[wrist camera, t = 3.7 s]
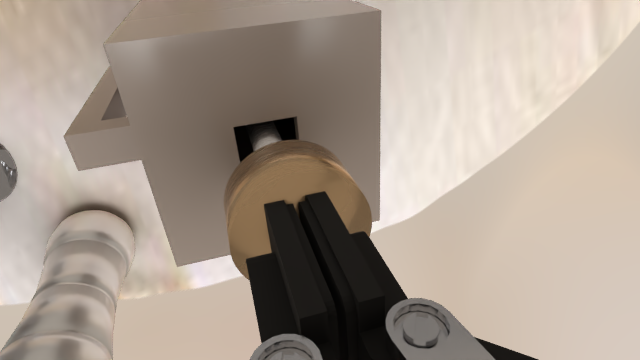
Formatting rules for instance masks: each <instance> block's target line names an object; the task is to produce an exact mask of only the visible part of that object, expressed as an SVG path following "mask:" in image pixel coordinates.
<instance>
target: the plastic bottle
mask: <svg viewBox="0 0 640 360" xmlns="http://www.w3.org/2000/svg"><path fill="white" fill-rule="evenodd" d="M134 256H135V243H134V236H133V233H132V230H131V228H130V227H129V226H128V224H127V223H126V222H125V221H124V220H122V219H121V218H119V217H118V216H116V215H114V214H112V213H109V212H106V211H101V210H88V211H82V212H78V213H75V214H73V215H71V216H69V217H67V218H66V219H65V220H63V221H62V222H61V224H60V225H59V226H58V227H57V228H56V229H55V231H54V232H53V233H52V234H51V236H50V238H49V240H48V243H47V248H46V252H45V256H44V267H43V270H42V274H41V277H40V280H39V284H38V287H37V290H36V293H35V295H34V297H33V299H32V301H31V303H30V305H29V307H28V309H27V310H26V312H25V314H24V316H23V318H22V320H21V322H20V323H19V325H18V326H17V328H16V329H15V331H14V332H13V334H12V335H11V337H10V338H9V340H8V341H7V342H6V344H5V346H4V347H3V348H2V350H1V352H0V360H113V329H114V320H115V312H116V305H117V300H118V297H119V294H120V291H121V288H122V284H123V281H124V279H125V277H126V275H127V274H128V272H129V270H130V267H131V264H132V262H133V259H134Z"/></svg>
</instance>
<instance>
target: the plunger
mask: <svg viewBox="0 0 640 360" xmlns="http://www.w3.org/2000/svg"><path fill="white" fill-rule="evenodd" d="M246 129H247V132H248V135H249V138H250V141H251V144H252V148H253V151H254V152H253V153H251V154H250V155H248V156H247V157H246V158H245V159H244V160H243V161H241V163H240V164H239V165H238V166H237V167H236V168H235V170H234V171H233V173H232V174H231V176H230V178H229V180H228V182H227V185H226V188H225V193H224V211H225V218H226V225H227V233H228V240H229V247H230V253H231V256H232V260H233V262H234V264H235V265H236V267H237V268H238V270H239V271H240V272H241V273H242V274H243V275H244V276H245V277H246V278H247V279H248V280H249V274H248V269H247V264H246V259H247V258H251V257H256V256H260V255H264V254H268V253H272V252H271V246H270V240H269V234H268V228H267V222H266V216H265V210H264V204H266V203H271V202H276V201H281V200H284V201H285V203H286V205H287V204H292V203H293V205H294V207H295V210H296V212H297V214H298V217H299V219H300V214H299V202H301V201H305V195H309V194H313V193H318V192H323V191H325V192H326V193H327V195H328V196H329V198H330V200H331V202H332V203H333V205H334V207H335V209H336V210H337V212H338V214H339V216H340V217H341V219H342V221H343V223H344V224H345V226H346V228H347V230H348V231H349V233H350V234H352V233H356V232H361V231H364V232H366V234H367V235H368V236H370V232H371V227H372V215H371V210H370V206H369V203H368V201H367V199H366V197H365V196H364V194H363V193H362V191H361V190H360V188H359V187H358V186H357V184H356V183H355V181H354V180H353V178H352V177H351V176H350V174H349V173H348V171H347V170H346V168H345V167H344V166H343V164H342V163H341V161H340V160H339V159H338V158H337V157H336V156H335V155H334V154H333V153H332V152H331V151H330V150H328V149H326V148H325V147H323V146H321V145H319V144H316V143H313V142H309V141H304V140H285V141H282V139H281V137H280V135H279V133H278V131H277V129H276V127H275V124H274V122H273V120H272V121H266V122H260V123H254V124H249V125H246Z"/></svg>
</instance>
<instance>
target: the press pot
mask: <svg viewBox="0 0 640 360" xmlns="http://www.w3.org/2000/svg"><path fill="white" fill-rule="evenodd" d="M103 45H104V48H105V51H106V54H107V57H108V60H109V63H110V66H111V67H108V69H107V70H106V72H105V74H104V75H103V77H102V78H101V80H100V81H99V83H98V84H97V86H96V87H95V89H94V90H93V92H92V93H91V95H90V97H89V98H88V100H87V101H86V103H85V104H84V106H83V107H82V109H81V110H80V112H79V113H78V115H77V117H76V118H75V120H74V121H73V123H72V124H71V126H70V127H69V129H68V130H67V132H66V133H65V135H64V139H65V141H66V143H67V146H68V148H69V150H70V153H71V155H72V157H73V160H74V162H75V164H76V167H77V169H78V171H81V170H86V169H92V168H98V167H103V166H109V165H114V164H120V163H126V162H131V161H137V160H142V163H143V166H144V169H145V172H146V175H147V178H148V181H149V184H150V187H151V190H152V193H153V196H154V199H155V202H156V205H157V208H158V211H159V214H160V217H161V220H162V223H163V226H164V229H165V232H166V235H167V238H168V241H169V244H170V247H171V250H172V253H173V256H174V259H175V262H176V265H177V267H179V266H183V265H187V264H192V263H196V262H200V261H205V260H209V259H213V258H218V257H222V256H227V255H231V253H230V247H229V240H228V233H227V225H226V218H225V211H224V193H225V188H226V185H227V182H228V180H229V178H230V176H231V174H232V173H233V171H234V170H235V168H236V167H237V166H238V165H239V164H240V163H241V161H243V160H244V159H245V158H246V157H247V156H248V155H250V154H251V153H253V152H254V151H253V148H252V144H251V141H250V138H249V135H248V132H247V129H246V125H249V124H254V123H260V122H266V121H272V120H273V122H274V124H275V127H276V129H277V131H278V133H279V135H280V137H281V139H282V141H285V140H304V141H309V142H313V143H316V144H319V145H321V146H323V147H325V148H326V149H328V150H330V151H331V152H332V153H333V154H334V155H335V156H336V157H337V158H338V159H339V160H340V161H341V163H342V164H343V166H344V167H345V168H346V170H347V171H348V173H349V174H350V176H351V177H352V178H353V180H354V181H355V183H356V184H357V186H358V187H359V188H360V190H361V191H362V193H363V194H364V196H365V197H366V199H367V201H368V203H369V206H370V210H371V215H372V222H374V221H379V220H380V87H381V10H379V9H376V8H373V7H370V6H367V5H364V4H361V3H358V2H355V1H352V0H141V1H140V2H139V3H138V4H137V5H136V6H135V8H134V9H133V10H132V11H131V12H130V13H129V15H128V16H127V17H126V18H125V19H124V20H123V22H122V23H121V24H120V25H119V26H118V27H117V29H116V30H115V31H114V32H113V33H112V35H111V36H110V37H109V38H108V39H107V40H106V42H105V43H104V44H103ZM126 116H127V117H126Z"/></svg>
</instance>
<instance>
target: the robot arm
mask: <svg viewBox="0 0 640 360" xmlns="http://www.w3.org/2000/svg"><path fill="white" fill-rule="evenodd" d="M264 210H265V216H266V222H267V228H268V234H269V240H270V246H271V252H272V253H268V254H264V255H260V256H256V257H251V258H247V259H246V264H247V269H248V274H249V280H250V285H251V290H252V295H253V300H254V306H255V310H256V316H257V321H258V326H259V332H260V337H261V342H262V344H261V345H260V346H259V347H258V348H257V349H256V350H255V351H254V353H253V355H252V356H251V358H250V360H538V359H535V358H532V357H529V356H527V355H524V354H521V353H518V352H515V351H512V350H509V349H507V348H504V347H501V346H498V345H495V344H493V343H490V342H487V341H484V340H481V339H478V338H475V337H473V336H472V335H471V334H470V333H469V331H468V330H467V329H466V328H465V327H464V326H463V325H462V324H461V323H460V322H459V321H458V320H457V319H456V318H455V317H454V316H453V315H452V314H451V313H450V312H449V311H448V310H447V309H446V308H444V307H443V306H442V305H440V304H438V303H436V302H434V301H432V300H427V299H422V298H410V299H408V298H407V296H406V295H405V293H404V292H403V290H402V289H401V287H400V285H399V284H398V282H397V281H396V279H395V278H394V276H393V274H392V273H391V271H390V270H389V268H388V267H387V265H386V264H385V262H384V260H383V259H382V257H381V255H380V254H379V252H378V251H377V249H376V247H375V246H374V244H373V243H372V241H371V240H370V238H369V236H368V235H367V234H366V232H364V231H361V232H356V233H352V234H350V233H349V231H348V230H347V228H346V226H345V224H344V223H343V221H342V219H341V217H340V216H339V214H338V212H337V210H336V209H335V207H334V205H333V203H332V202H331V200H330V198H329V196H328V195H327V193H326V192H325V191H323V192H318V193H313V194H309V195H305V201H301V202H299V214H300V219H299V217H298V214H297V212H296V210H295V207H294V205H293V203H292V204H287V205H286V203H285V201H284V200H281V201H276V202H271V203H266V204H264Z"/></svg>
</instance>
